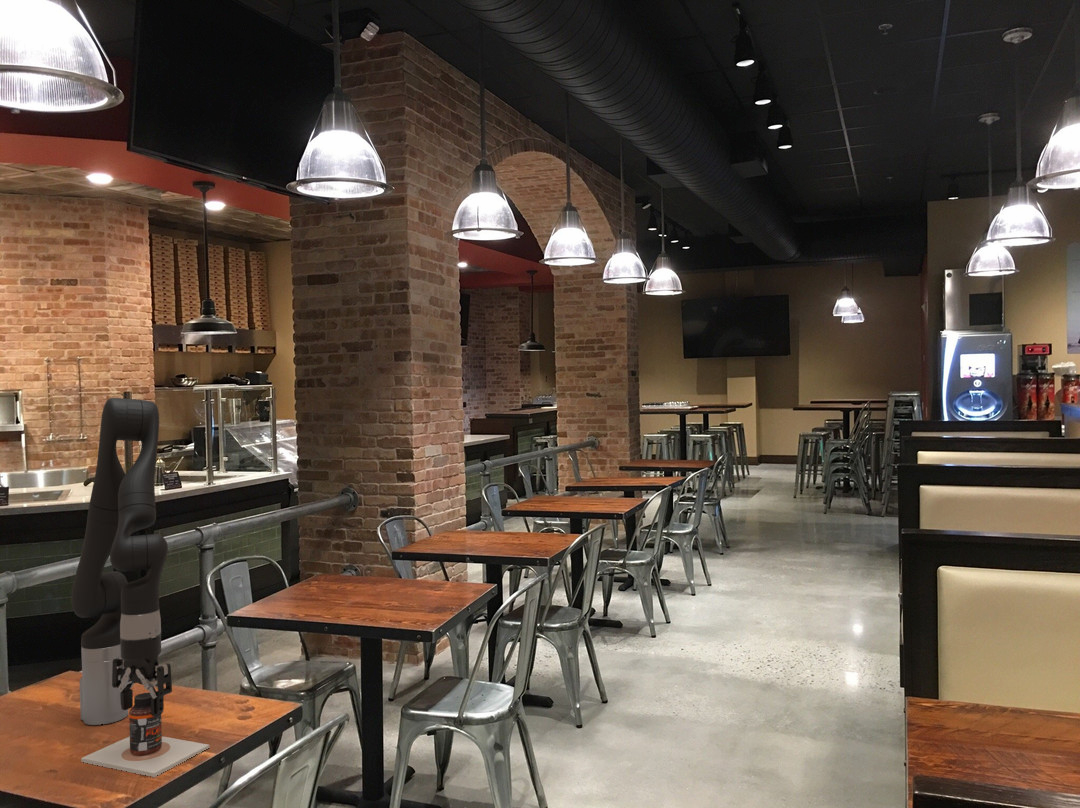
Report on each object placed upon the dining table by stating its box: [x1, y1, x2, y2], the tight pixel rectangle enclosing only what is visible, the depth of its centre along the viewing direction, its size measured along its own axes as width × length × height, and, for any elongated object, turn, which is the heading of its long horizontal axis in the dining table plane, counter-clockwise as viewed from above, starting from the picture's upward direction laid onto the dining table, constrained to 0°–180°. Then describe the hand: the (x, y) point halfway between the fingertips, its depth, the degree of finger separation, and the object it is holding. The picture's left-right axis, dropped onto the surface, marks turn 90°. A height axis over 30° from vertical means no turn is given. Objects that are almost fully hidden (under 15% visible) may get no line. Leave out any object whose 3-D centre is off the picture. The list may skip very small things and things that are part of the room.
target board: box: [80, 735, 211, 778], centre depth 171 cm, size 20×14×1 cm
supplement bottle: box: [128, 691, 163, 755], centre depth 171 cm, size 6×6×11 cm
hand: (142, 711), depth 171 cm, fingers open, 8 cm apart
